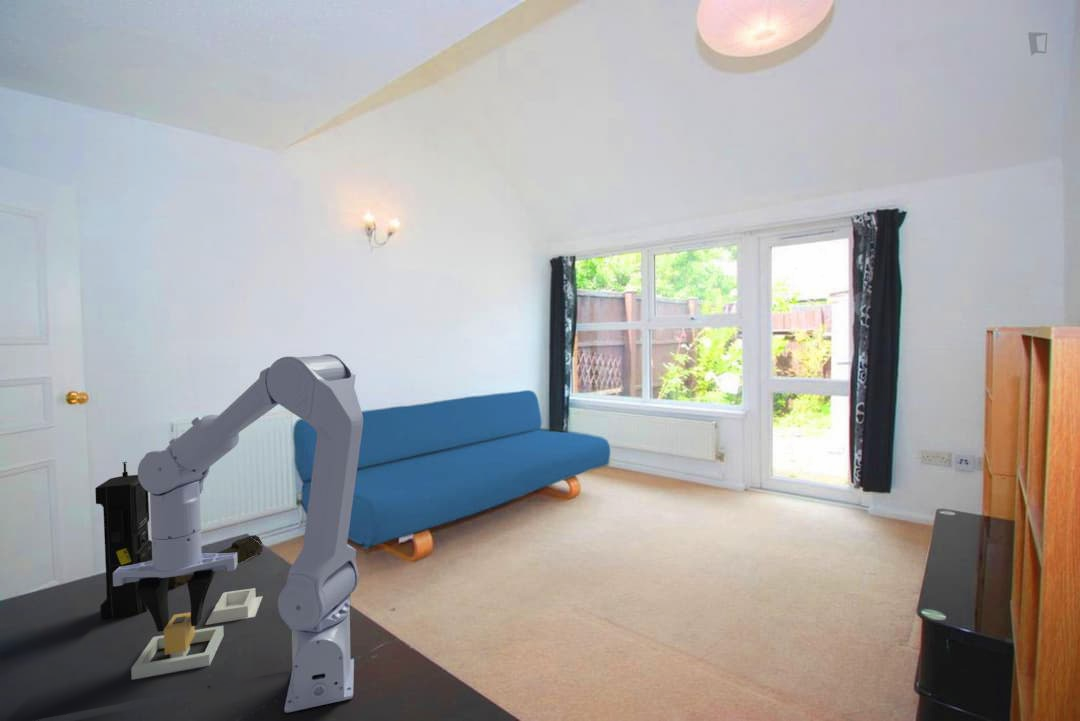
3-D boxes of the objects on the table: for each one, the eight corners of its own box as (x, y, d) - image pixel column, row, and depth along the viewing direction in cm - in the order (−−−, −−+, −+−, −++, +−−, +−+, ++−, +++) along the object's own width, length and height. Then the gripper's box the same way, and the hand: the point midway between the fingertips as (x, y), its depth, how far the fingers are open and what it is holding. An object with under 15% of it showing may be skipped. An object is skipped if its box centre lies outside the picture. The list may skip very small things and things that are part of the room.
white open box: (254, 621, 83) (254, 605, 83) (205, 629, 81) (204, 613, 81) (262, 600, 90) (262, 586, 90) (217, 607, 88) (216, 592, 87)
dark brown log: (172, 595, 92) (171, 570, 92) (160, 590, 94) (159, 565, 94) (270, 556, 109) (269, 534, 109) (258, 552, 111) (258, 531, 111)
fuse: (186, 663, 72) (184, 625, 71) (165, 667, 71) (163, 628, 71) (195, 647, 75) (194, 611, 75) (175, 650, 75) (174, 613, 74)
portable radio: (143, 621, 83) (137, 470, 82) (97, 628, 81) (91, 474, 80) (158, 598, 91) (154, 459, 90) (117, 604, 89) (111, 462, 87)
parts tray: (209, 670, 71) (209, 654, 71) (131, 685, 68) (131, 668, 68) (223, 640, 78) (223, 625, 78) (153, 651, 75) (153, 636, 75)
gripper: (241, 516, 78) (243, 602, 79) (127, 528, 74) (130, 619, 74) (229, 533, 72) (232, 626, 72) (103, 547, 67) (107, 647, 68)
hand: (179, 625), depth 73 cm, fingers open, 3 cm apart
